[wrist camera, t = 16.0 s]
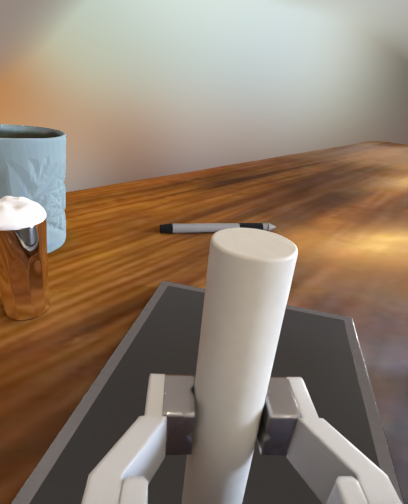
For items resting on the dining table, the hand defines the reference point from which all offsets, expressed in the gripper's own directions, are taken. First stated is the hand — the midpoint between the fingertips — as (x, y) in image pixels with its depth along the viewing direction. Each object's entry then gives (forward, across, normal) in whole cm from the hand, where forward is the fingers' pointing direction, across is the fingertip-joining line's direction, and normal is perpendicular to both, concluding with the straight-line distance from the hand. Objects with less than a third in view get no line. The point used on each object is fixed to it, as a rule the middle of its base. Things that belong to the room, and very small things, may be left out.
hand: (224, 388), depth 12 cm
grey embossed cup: (+28, -19, -8) cm, 34 cm away
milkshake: (+15, -14, -8) cm, 22 cm away
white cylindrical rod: (-1, 0, -7) cm, 7 cm away
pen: (+33, +4, -8) cm, 35 cm away
